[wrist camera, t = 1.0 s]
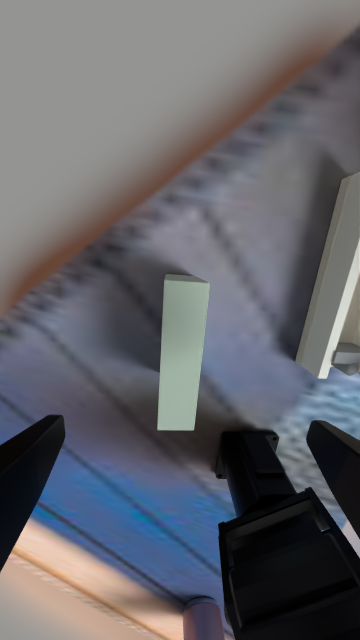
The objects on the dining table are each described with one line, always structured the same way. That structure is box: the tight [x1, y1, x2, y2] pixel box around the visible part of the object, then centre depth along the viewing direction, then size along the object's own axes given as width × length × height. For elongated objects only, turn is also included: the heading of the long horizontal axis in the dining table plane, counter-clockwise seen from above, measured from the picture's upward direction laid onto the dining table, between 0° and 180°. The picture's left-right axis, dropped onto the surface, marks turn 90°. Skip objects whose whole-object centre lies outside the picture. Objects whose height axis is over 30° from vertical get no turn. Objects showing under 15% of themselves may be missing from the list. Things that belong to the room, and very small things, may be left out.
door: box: [157, 274, 210, 430], centre depth 15 cm, size 10×2×7 cm, turn 176°
